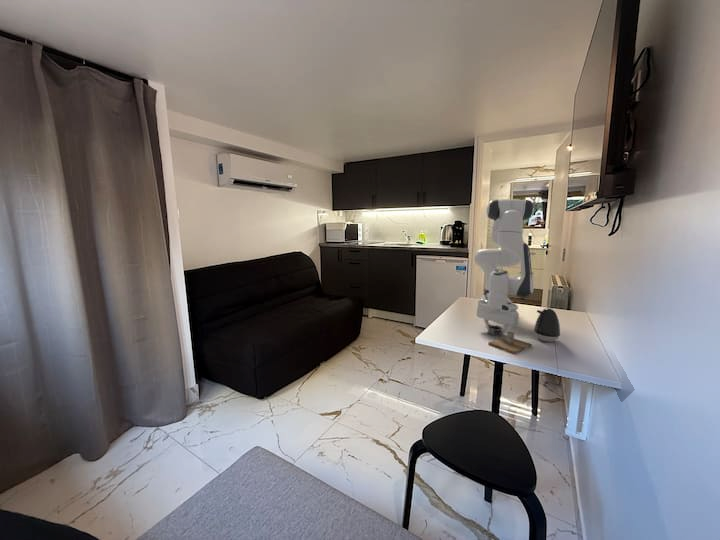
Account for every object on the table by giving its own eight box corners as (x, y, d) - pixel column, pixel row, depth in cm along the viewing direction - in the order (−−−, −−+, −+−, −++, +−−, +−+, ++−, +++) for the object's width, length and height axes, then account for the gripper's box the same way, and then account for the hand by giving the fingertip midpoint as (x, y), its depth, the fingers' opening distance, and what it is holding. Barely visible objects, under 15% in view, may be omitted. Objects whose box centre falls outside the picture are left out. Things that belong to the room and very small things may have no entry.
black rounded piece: (528, 335, 143) (531, 305, 140) (550, 335, 143) (553, 305, 140) (540, 344, 133) (543, 311, 130) (564, 344, 132) (567, 311, 130)
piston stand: (505, 337, 140) (506, 325, 139) (531, 346, 131) (532, 333, 130) (488, 344, 133) (489, 331, 132) (514, 354, 123) (515, 340, 122)
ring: (492, 330, 150) (493, 324, 150) (505, 334, 145) (505, 328, 144) (485, 332, 147) (485, 327, 146) (497, 337, 141) (498, 331, 141)
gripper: (474, 299, 150) (473, 325, 152) (514, 309, 133) (511, 338, 136) (482, 297, 154) (480, 323, 156) (521, 306, 137) (519, 335, 139)
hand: (495, 330), depth 146 cm, fingers closed on ring, 7 cm apart
